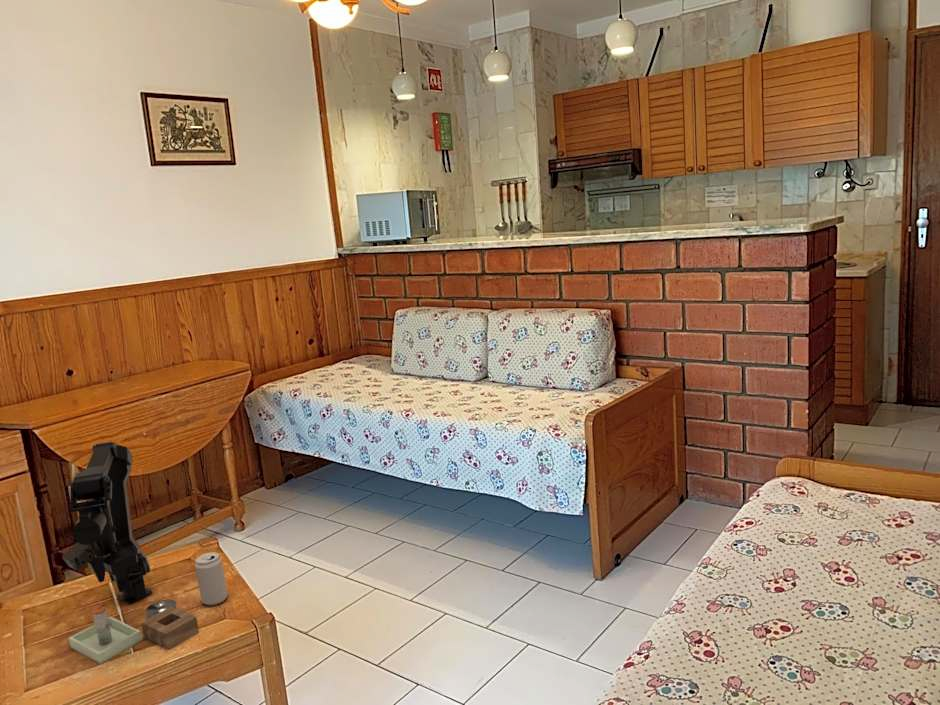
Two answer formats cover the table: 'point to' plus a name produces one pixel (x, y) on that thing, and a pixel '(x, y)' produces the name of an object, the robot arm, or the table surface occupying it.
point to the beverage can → (211, 578)
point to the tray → (90, 647)
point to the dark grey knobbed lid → (159, 607)
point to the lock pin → (102, 624)
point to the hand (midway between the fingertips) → (111, 586)
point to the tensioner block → (170, 627)
